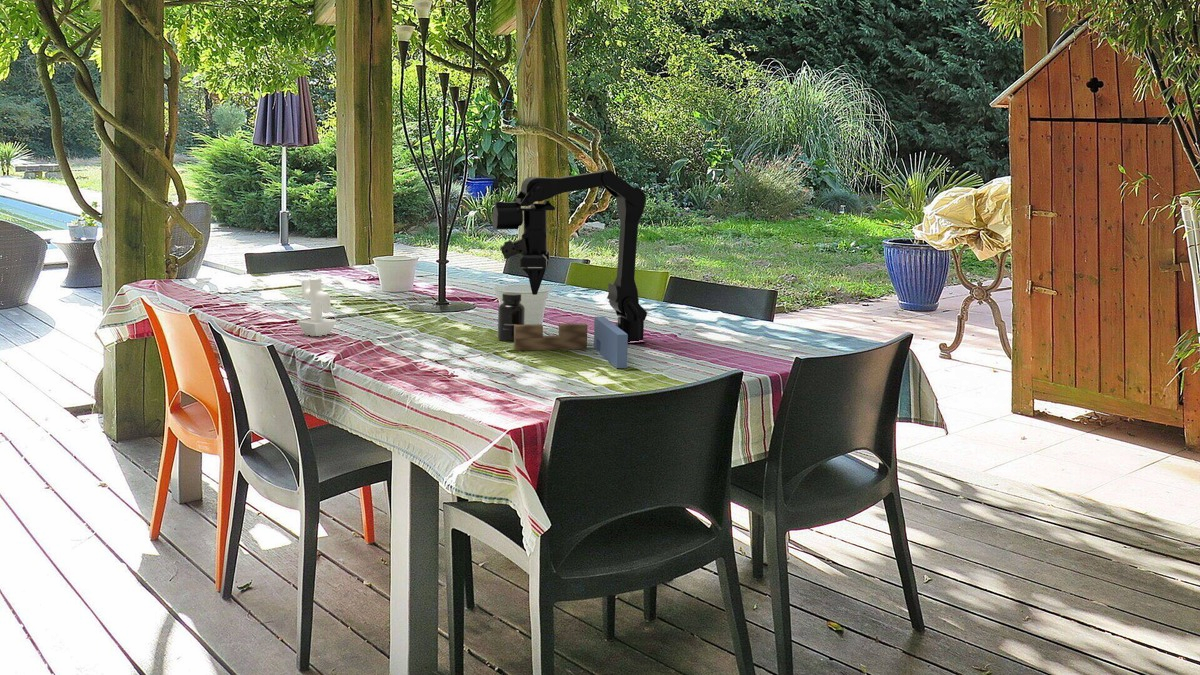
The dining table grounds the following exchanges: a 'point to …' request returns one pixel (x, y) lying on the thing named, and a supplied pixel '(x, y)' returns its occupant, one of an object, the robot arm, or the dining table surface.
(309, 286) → the figurine
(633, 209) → the robot arm
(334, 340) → the dining table surface
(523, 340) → the walnut slotted board
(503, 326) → the supplement bottle
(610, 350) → the slate blue tapered plate
